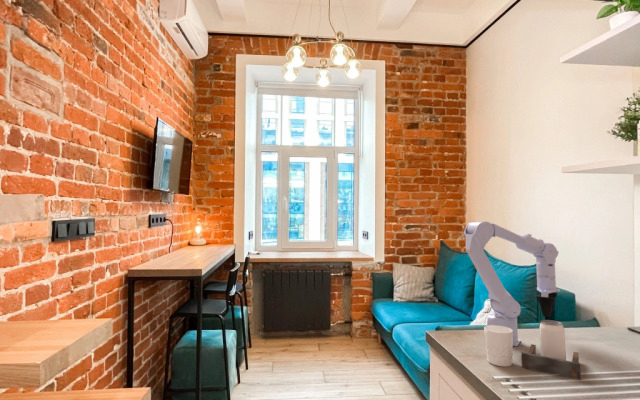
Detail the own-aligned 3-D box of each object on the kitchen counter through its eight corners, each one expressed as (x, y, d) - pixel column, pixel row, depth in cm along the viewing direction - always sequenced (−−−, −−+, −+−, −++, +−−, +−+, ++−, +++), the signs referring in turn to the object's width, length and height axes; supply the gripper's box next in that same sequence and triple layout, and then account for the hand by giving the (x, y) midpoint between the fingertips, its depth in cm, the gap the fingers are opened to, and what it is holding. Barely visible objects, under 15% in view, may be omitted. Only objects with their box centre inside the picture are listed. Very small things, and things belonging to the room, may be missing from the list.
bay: (521, 367, 105) (521, 353, 105) (528, 353, 116) (528, 340, 116) (580, 379, 96) (579, 364, 96) (582, 363, 107) (581, 349, 108)
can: (570, 367, 104) (568, 325, 105) (546, 366, 106) (544, 324, 106) (560, 359, 111) (558, 320, 111) (537, 358, 112) (535, 319, 113)
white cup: (513, 369, 103) (511, 334, 104) (483, 364, 107) (482, 330, 108) (515, 360, 110) (513, 327, 110) (487, 355, 114) (486, 323, 115)
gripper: (557, 279, 121) (559, 320, 120) (560, 274, 133) (562, 311, 132) (533, 277, 125) (535, 317, 125) (538, 273, 137) (540, 309, 136)
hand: (547, 314), depth 128 cm, fingers open, 7 cm apart
